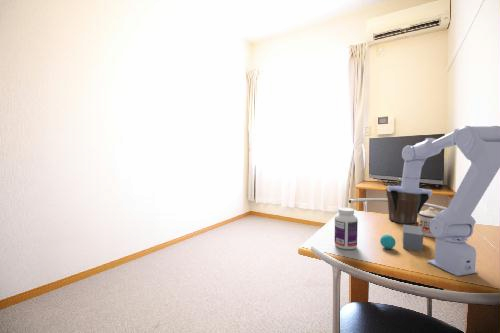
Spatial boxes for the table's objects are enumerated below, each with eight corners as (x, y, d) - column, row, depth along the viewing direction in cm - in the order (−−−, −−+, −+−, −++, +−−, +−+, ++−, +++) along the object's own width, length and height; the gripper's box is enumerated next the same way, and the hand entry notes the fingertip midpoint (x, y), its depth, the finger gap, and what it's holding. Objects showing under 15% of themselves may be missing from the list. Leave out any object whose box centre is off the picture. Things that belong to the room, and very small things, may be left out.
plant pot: (381, 215, 139) (382, 186, 137) (415, 217, 134) (416, 187, 132) (387, 223, 123) (389, 191, 122) (426, 227, 118) (427, 193, 117)
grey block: (422, 251, 90) (423, 235, 90) (403, 248, 93) (403, 232, 92) (419, 241, 100) (420, 226, 99) (402, 239, 102) (402, 224, 102)
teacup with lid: (414, 233, 109) (415, 207, 108) (422, 229, 114) (423, 204, 114) (448, 241, 99) (449, 212, 98) (455, 236, 105) (456, 209, 104)
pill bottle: (355, 243, 98) (356, 207, 97) (358, 251, 90) (359, 212, 89) (333, 241, 100) (334, 206, 99) (334, 249, 92) (335, 210, 91)
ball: (398, 250, 92) (399, 236, 91) (387, 251, 90) (387, 238, 90) (387, 244, 96) (388, 232, 96) (376, 246, 95) (377, 233, 95)
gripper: (430, 176, 96) (425, 209, 99) (388, 172, 101) (384, 204, 104) (436, 181, 90) (430, 216, 93) (390, 177, 95) (386, 210, 98)
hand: (406, 210), depth 98 cm, fingers open, 7 cm apart
